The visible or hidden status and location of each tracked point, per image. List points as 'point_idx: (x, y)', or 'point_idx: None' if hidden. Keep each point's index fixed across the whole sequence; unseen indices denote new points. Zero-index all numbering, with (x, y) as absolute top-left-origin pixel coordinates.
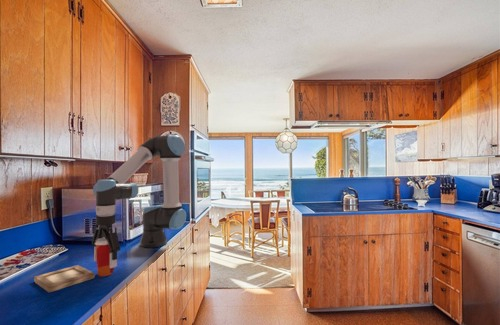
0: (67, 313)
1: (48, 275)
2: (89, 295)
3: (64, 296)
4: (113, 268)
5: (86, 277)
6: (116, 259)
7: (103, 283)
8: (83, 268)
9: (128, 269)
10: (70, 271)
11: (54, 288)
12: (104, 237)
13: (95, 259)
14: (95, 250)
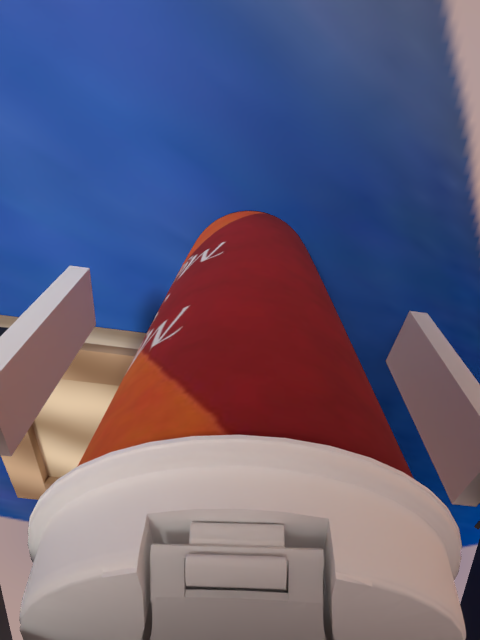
0: (459, 528)
1: (42, 466)
2: None
3: None
4: (300, 241)
5: None
6: (459, 364)
7: (387, 367)
8: (82, 355)
9: (372, 83)
10: (51, 394)
11: None
12: (28, 621)
13: (87, 333)
14: (37, 408)
